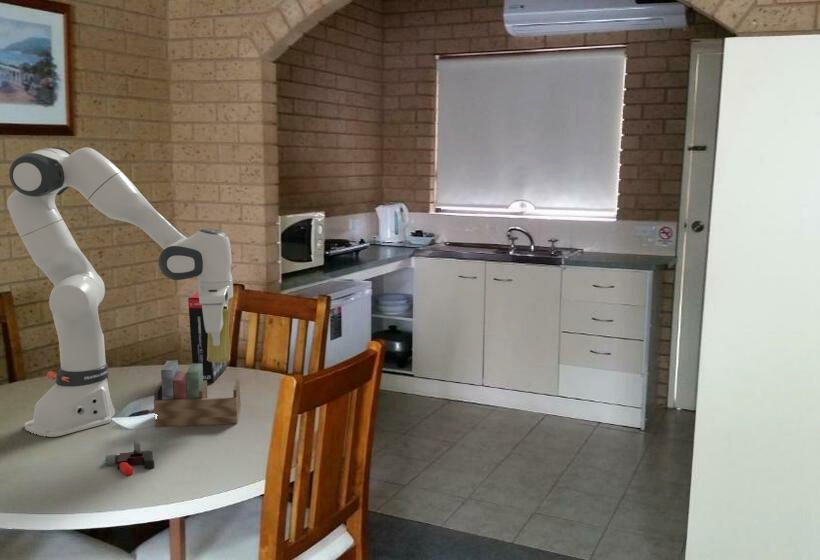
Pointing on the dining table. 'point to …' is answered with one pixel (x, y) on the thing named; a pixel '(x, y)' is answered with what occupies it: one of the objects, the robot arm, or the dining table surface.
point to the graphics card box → (201, 341)
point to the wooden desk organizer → (191, 399)
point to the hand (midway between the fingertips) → (218, 341)
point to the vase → (221, 351)
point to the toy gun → (131, 459)
